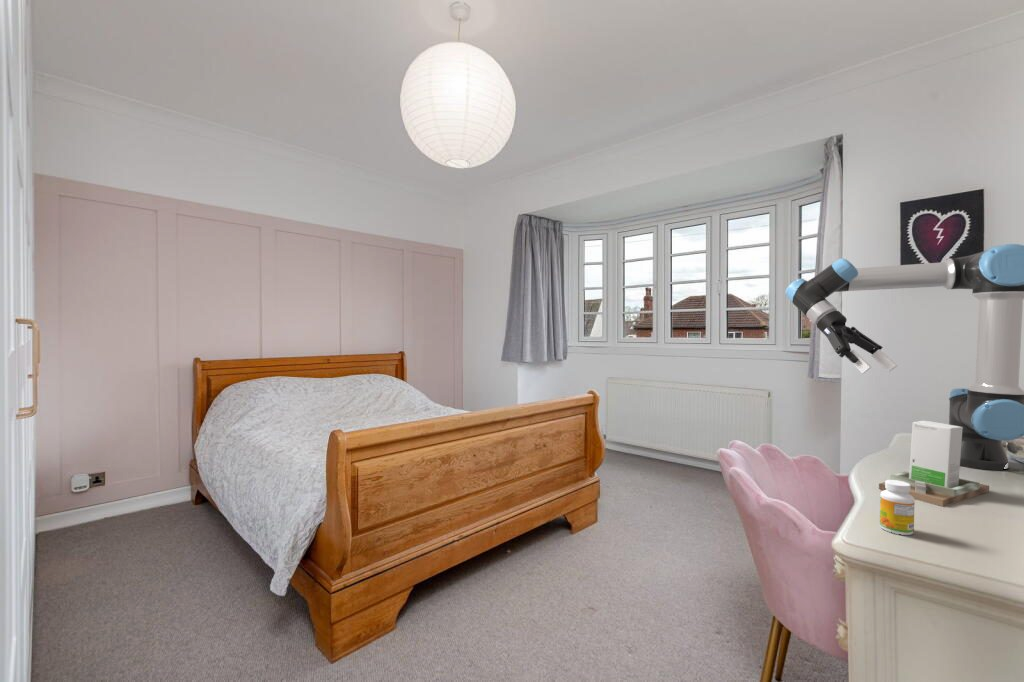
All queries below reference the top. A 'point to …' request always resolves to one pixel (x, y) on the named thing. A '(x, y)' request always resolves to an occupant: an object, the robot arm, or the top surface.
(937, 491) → the board
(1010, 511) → the top surface
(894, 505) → the supplement bottle
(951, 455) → the skincare box
